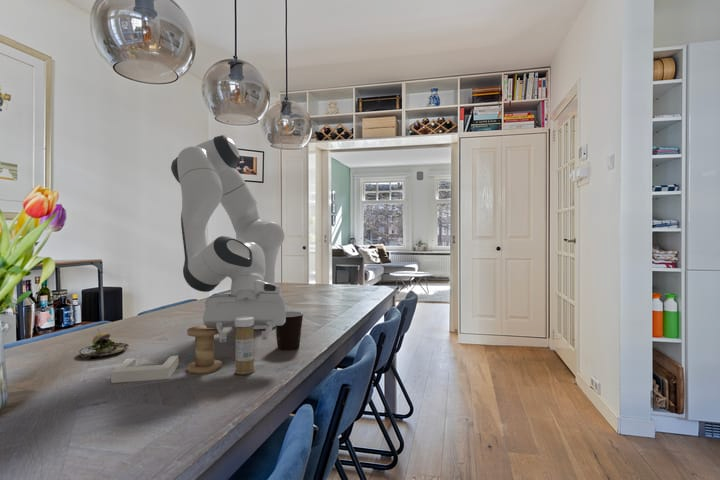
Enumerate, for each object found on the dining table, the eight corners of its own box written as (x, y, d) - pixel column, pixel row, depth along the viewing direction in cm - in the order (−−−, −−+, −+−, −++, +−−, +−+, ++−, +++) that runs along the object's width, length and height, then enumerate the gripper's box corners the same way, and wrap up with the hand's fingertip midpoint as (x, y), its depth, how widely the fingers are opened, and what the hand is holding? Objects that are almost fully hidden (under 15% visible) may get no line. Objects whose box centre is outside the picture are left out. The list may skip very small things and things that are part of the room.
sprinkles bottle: (253, 368, 100) (253, 314, 99) (255, 374, 95) (255, 318, 95) (234, 370, 98) (234, 316, 98) (235, 376, 94) (235, 319, 94)
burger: (85, 363, 104) (85, 335, 104) (73, 354, 112) (73, 328, 112) (135, 353, 113) (135, 327, 113) (120, 346, 121) (120, 321, 121)
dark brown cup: (297, 352, 113) (297, 317, 113) (269, 350, 115) (268, 316, 115) (310, 341, 125) (310, 310, 124) (284, 340, 126) (284, 309, 126)
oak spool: (190, 364, 102) (190, 325, 102) (223, 362, 104) (223, 324, 104) (184, 375, 95) (184, 333, 94) (219, 372, 96) (219, 331, 96)
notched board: (127, 368, 99) (127, 358, 99) (178, 365, 102) (178, 355, 102) (111, 383, 89) (111, 372, 89) (168, 378, 92) (168, 368, 92)
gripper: (204, 287, 102) (196, 335, 92) (285, 286, 105) (285, 331, 96) (208, 301, 106) (200, 348, 97) (285, 299, 110) (285, 344, 101)
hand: (243, 340), depth 96 cm, fingers open, 8 cm apart
